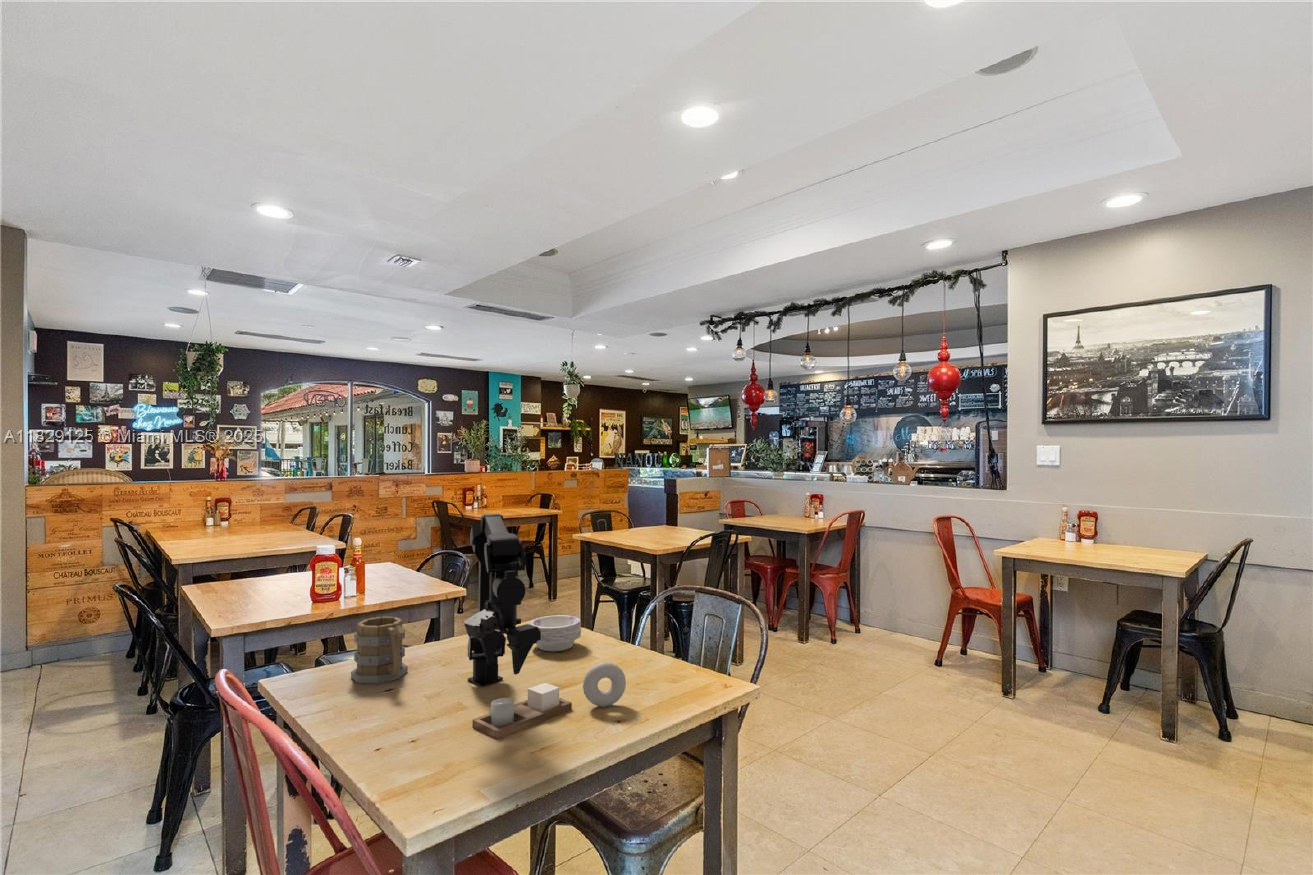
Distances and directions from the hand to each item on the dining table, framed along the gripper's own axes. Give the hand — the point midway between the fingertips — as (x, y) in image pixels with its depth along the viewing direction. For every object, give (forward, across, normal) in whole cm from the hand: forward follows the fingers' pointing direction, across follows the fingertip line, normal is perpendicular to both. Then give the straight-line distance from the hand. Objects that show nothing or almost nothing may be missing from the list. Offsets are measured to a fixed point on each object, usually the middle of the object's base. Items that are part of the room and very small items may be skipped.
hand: (503, 669), depth 138 cm
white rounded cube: (+12, 0, +11) cm, 16 cm away
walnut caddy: (+12, 0, +6) cm, 13 cm away
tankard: (+12, -47, -2) cm, 49 cm away
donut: (+12, +9, +22) cm, 26 cm away
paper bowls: (+12, -34, +44) cm, 57 cm away
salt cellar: (+12, 0, 0) cm, 12 cm away
